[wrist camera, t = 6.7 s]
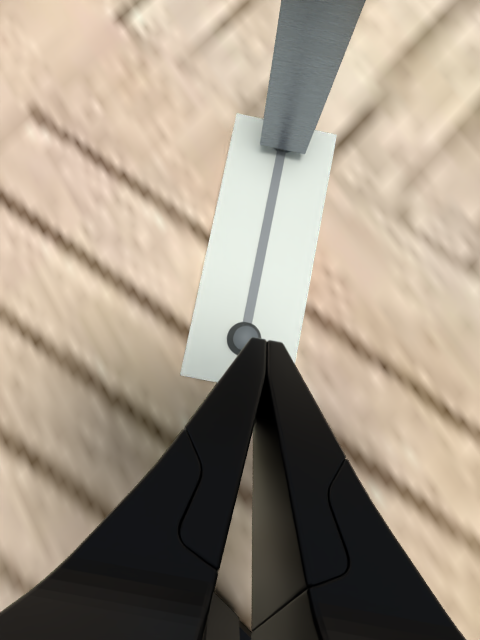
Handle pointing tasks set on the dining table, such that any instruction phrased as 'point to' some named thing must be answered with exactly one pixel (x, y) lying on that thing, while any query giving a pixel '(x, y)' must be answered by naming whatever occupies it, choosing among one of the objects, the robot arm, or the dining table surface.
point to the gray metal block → (305, 67)
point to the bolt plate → (258, 249)
